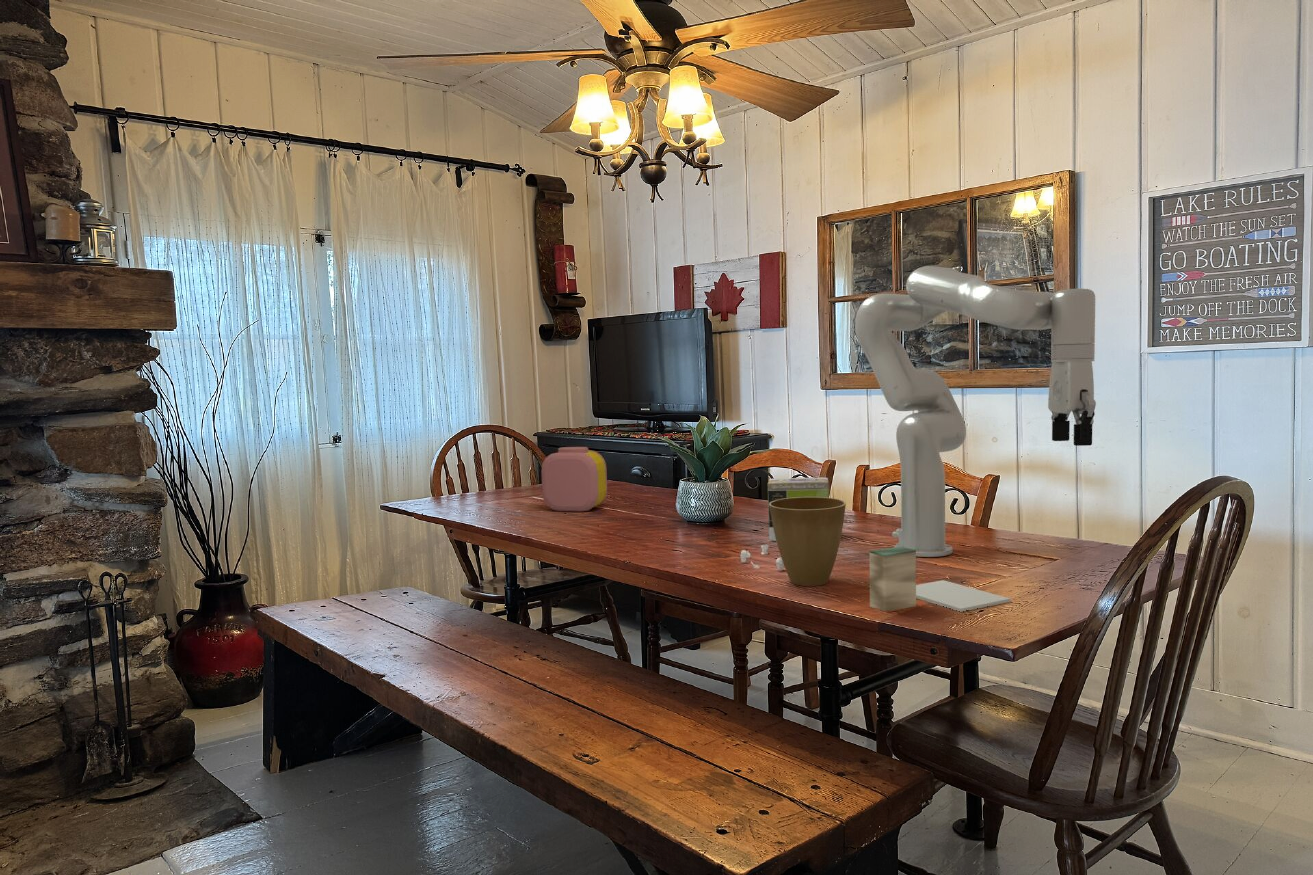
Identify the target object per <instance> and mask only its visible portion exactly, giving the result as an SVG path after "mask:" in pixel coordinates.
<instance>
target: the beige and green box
mask: <svg viewBox="0 0 1313 875" xmlns="http://www.w3.org/2000/svg"><path fill="white" fill-rule="evenodd" d="M916 585H917V556H916V550H913V549H909V548H905V547H900V546H899V547H893V546H891V547H887V548H881V549H874V550H870V551H869V607H870V608H873V609H875V610H879V611H882V612H884V613H887V612H893V611H897V610H903V609H908V608H912V607H917V598H916Z"/></svg>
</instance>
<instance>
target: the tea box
mask: <svg viewBox="0 0 1313 875" xmlns="http://www.w3.org/2000/svg"><path fill="white" fill-rule="evenodd" d="M794 497H827V498H830V482H829V477H827V476H826V477H825V476H823V477H787V478H786V477H785V478H769V479H768V482H767V506H768V538H769V542H772V541H773V542H774V541H775V542H777V541H776V537H775V533H774V529H773V524H772V518H771V513H770V507H769V503H770V502H772V501H775V500H779V499H785V498H794Z"/></svg>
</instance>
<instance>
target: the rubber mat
mask: <svg viewBox="0 0 1313 875" xmlns="http://www.w3.org/2000/svg"><path fill="white" fill-rule="evenodd" d="M917 599H918V600H921V601H923V602H928V603H930V604H933V605H936V604H937V606H939V607H943V606H944V607H943V608H946V607H947V608H946V609H949V608H951V609H950V610H952V609H953V610H952V611H956V610H957V611H956V612H959V611H960V612H959V613H963V611H964V612H967V611H966V610H969V611H973V610H977V608H978V609H982V608H988V607H993V606H998V605H1002V604H1006V603H1010V602H1011V598H1010V597H1007V596H1006V597H1005V596H1004V595H1003V596H1002V595H998V594H995V593H992V592H988V591H984V590H980V589H977V588H973V587H970V586H967V585H962V584H958V583H955V582H950V581H948V580H943V579H942V580H936V581H931V582H926V583H925V582H924V583H920V584H916V600H917ZM987 606H988V607H987Z"/></svg>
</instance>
